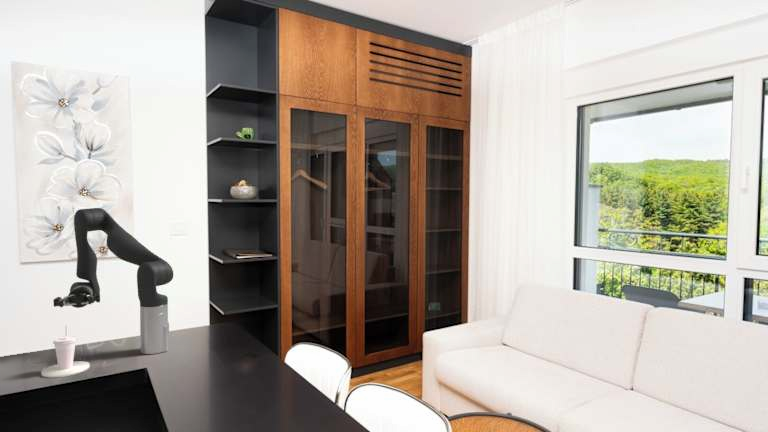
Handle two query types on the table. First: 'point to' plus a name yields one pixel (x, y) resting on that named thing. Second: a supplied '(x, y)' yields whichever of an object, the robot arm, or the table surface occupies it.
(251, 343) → the table surface
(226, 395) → the table surface
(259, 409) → the table surface
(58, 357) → the smoothie
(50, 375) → the plate
